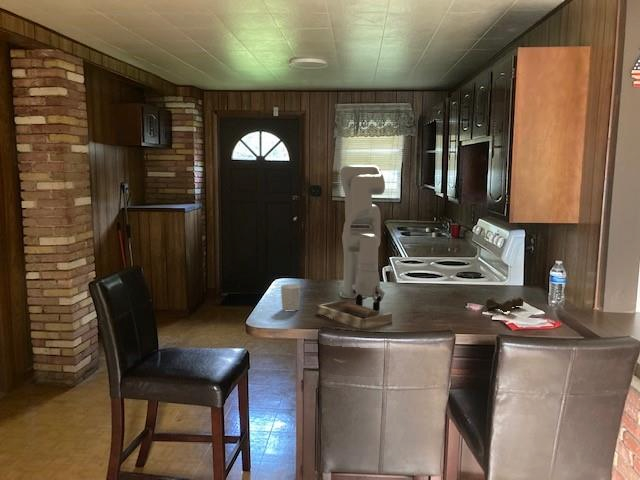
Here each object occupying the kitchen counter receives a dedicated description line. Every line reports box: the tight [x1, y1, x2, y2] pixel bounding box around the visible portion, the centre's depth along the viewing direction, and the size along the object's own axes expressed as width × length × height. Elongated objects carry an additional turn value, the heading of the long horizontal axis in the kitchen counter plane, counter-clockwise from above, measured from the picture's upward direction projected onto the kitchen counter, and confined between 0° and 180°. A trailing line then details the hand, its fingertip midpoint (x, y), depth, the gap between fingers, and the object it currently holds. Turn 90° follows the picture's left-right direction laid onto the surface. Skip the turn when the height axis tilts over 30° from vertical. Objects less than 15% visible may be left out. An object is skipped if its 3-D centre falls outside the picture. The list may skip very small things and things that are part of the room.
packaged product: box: [339, 302, 380, 319], centre depth 207 cm, size 18×5×10 cm
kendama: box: [485, 296, 524, 313], centre depth 219 cm, size 6×10×20 cm
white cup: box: [280, 283, 301, 310], centre depth 217 cm, size 8×8×10 cm
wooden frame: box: [315, 299, 393, 331], centre depth 206 cm, size 27×16×4 cm, turn 40°
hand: (367, 308), depth 211 cm, fingers open, 9 cm apart
